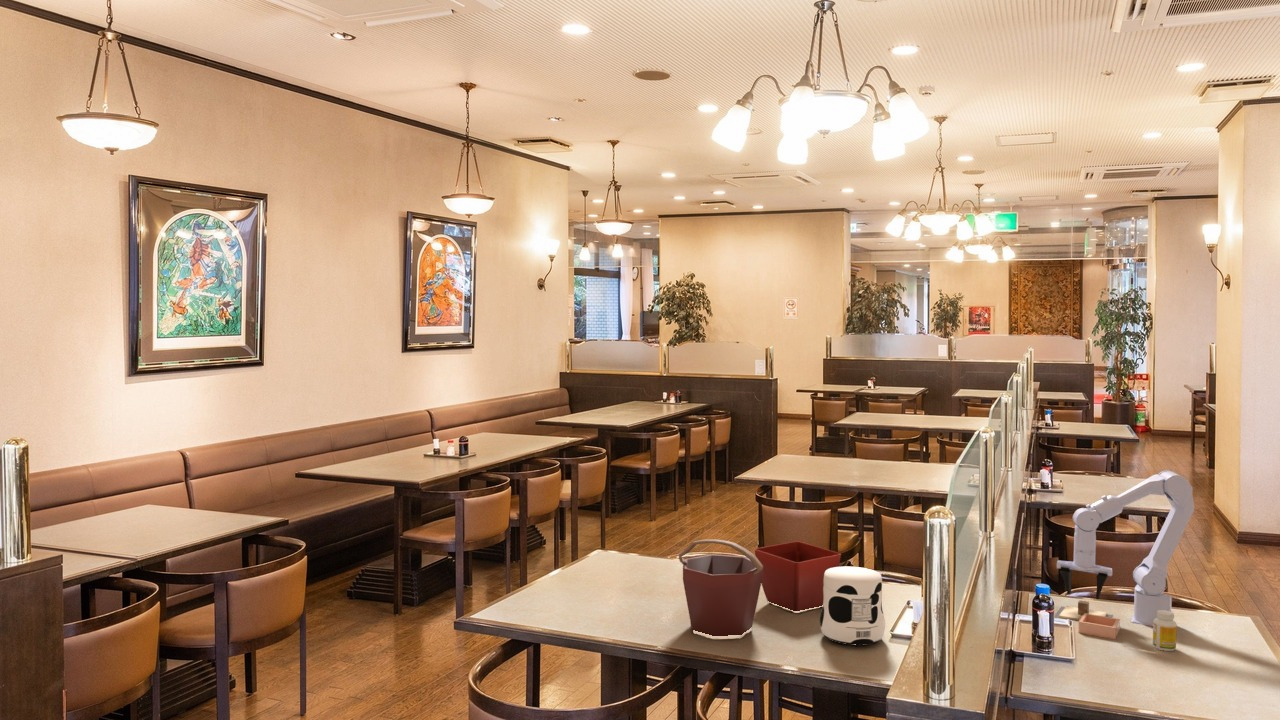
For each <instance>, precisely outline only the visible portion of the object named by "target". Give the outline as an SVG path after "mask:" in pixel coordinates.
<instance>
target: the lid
mask: <svg viewBox="0 0 1280 720" xmlns="http://www.w3.org/2000/svg"><path fill="white" fill-rule="evenodd" d="M1064 607H1065V608H1064V610H1063V611H1062V612H1061V614H1060V615H1059V617H1060V618H1059V619H1062V618H1066V619H1065V620H1067V619H1071V620H1070V621H1073V620H1077V621H1076V622H1079V621H1080V619H1081V618H1082V616H1083V615H1084V613H1087V614H1092V615H1098V616H1104V617H1106V616H1107V614H1108V612H1106V611H1100V610H1094V609H1090V601H1086V600H1079V601H1078V602H1077V606H1069V605H1066V606H1064Z"/></svg>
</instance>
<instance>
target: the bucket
mask: <svg viewBox="0 0 1280 720" xmlns="http://www.w3.org/2000/svg"><path fill="white" fill-rule="evenodd" d="M702 544H717V545H723V546H727V547H731V549H734V550H735V551H737V552H739V553H741V554H742V555H744V556H742V555H741V556H740V555H730V554H729V555H727V554H715V553H714V554H713V553H711V554H706V555H705V554H704V555H699V556H695V557H688V558H683V556H685V555H687V554H688V553H690V552H691V551H692V550H693V549H694V548H695V547H696V546H697V545H702ZM677 556H678V560H679V562H680V563H681V564H682V565H683V566H682V582H683V588H684V595H685V598H686V605H687V610H688V615H689V622H690V627H691V631H692V630H695V631H698V632H702V633H705V634H709V635H712V636H728V635H742V634H743V633H744V632H746V631H747V630H749V629H750V628H751V627H752V628H753V624H754V620H755V615H756V610H757V605H758V600H759V596H760V590H761V587H762V584H761V582H762V577H763V565H762V564H761V563H760V561H759V560H758V559H757V557H756V556H755V553H752V552H751V551H750V550H748V549H747V548H745V547H743V546H742V545H740V544H738V543H736V542H733V541H729V540H723V539H699V540H695V541H691V543H690V544H689V545H688V546H687V547H686V548H684V550H681V551H680V552H679V553H678V554H677Z"/></svg>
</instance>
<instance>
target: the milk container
mask: <svg viewBox="0 0 1280 720" xmlns="http://www.w3.org/2000/svg"><path fill="white" fill-rule="evenodd" d="M882 578H883V577H882V574H881V573H880V572H879V571H876V570H873V569H869V568H866V567H859V566H848V565H847V566H846V565H845V566H839V567H834V568H830V569H827V570H826V571H825V574H824V587H823V594H824V601H823V607H822V608H821V611H820V614H819V626H820V631H821V632H822V635H824V637H825V638H826V639H828V638H829V639H828V640H830V639H831V640H830V641H832V640H833V641H832V642H835V641H836V643H838V642H840V643H839V644H841V643H846V644H845V645H847V644H856V645H855V646H864V645H863V644H869V645H872V643H873V644H876V643H878V642H879V641H881V640H882V638H884V635H885V630H886V619H885V614H884V611H883V605H882V604H883V579H882ZM875 642H876V643H875Z"/></svg>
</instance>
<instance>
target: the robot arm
mask: <svg viewBox="0 0 1280 720" xmlns="http://www.w3.org/2000/svg"><path fill="white" fill-rule="evenodd" d="M1193 490H1194V488H1193V487H1192V485H1191V483H1190V481H1188V478H1186V477H1185V476H1182V475H1180V474H1178V473H1176V472H1175V471H1172V470H1168V469H1167V470H1162V471H1160V472H1159V473H1158V474H1152V475H1151V476H1149V477H1148V478H1147V479H1145V480H1143V481H1141V482H1140V483H1138V484H1136V485H1134V486H1132V487H1130V488H1129V489H1127V490H1125V491H1124V492H1122V493H1120V494H1118V495H1117V496H1115V495H1112V494H1110V495H1105V494H1104V495H1102V496H1100V499H1099V500H1097V501H1096V502H1093V503H1092V504H1090V503H1088V504H1085V507H1081V508H1078V509H1076V510H1075V511H1074V513H1073V515H1072V518H1071V519H1072V521H1073V523H1074V524H1075V525H1074V534H1073V540H1074V541H1073V561H1069V560H1068V561H1067V560H1060V559H1059V560H1057V561H1056V569H1060V570H1059V573H1060V575H1061V578H1062V579H1063V581H1064V585H1065V589H1066V594H1067V595H1071V594H1072V574H1073V573H1072V572H1073V571H1079V572H1085V573H1090V574H1097V575H1096V576H1095V577H1096V590H1095V591H1096V594H1095V599H1096V600H1100V598H1101V595H1102V593H1101V592H1102V589H1103V588H1104V585H1105V582H1106V580H1107V579H1108V577H1112V576H1113V568H1112V567H1109V566H1102V565H1098V564H1096V549H1097V535H1096V533H1097V532H1096V531H1097V528H1099V525H1100V524H1102V523H1103V522H1106V521H1107V520H1111V519H1112V518H1113V517H1116V516H1118V515H1119V514H1121V513H1122V512H1123V509H1124V508H1125V507H1126V506H1128V505H1130V504H1132V503H1135V502H1137V501H1138V500H1141V499H1144V498H1145V497H1147V496H1151V495H1157V496H1166V498H1167V500H1168V502H1169V504H1170V506H1171V508H1170V510H1169V513H1168V514H1167V516H1166V518H1165V521H1164V523H1163V524H1162V527H1161V528H1160V531H1159V533H1158V535H1157V537H1156V540H1155V542H1154V544H1153V546H1152V548H1151V550H1150V552H1149V554H1148V555H1147V556H1146V557H1145V558H1143V560H1142V562H1141V563H1140V564H1139V565H1137V566H1136V567H1135V568H1134V570H1133V572H1132V578H1133V580H1134V582H1135V583H1136V585H1135V586H1134V595H1133V596H1134V597H1133V598H1134V599H1133V600H1134V601H1133V605H1134V606H1133V616H1132V617H1131V620H1130V623H1133V624H1137V625H1138V624H1140V625H1145V626H1150V627H1153V621H1154V619H1156V618H1158V617H1157V616H1156V615H1157V611H1158V610H1165V611H1170V612H1172V604H1173V603H1172V602H1173V601H1172V600H1173V599H1172V595H1170V594H1168V593H1167V594H1166V593H1165V592H1164V591H1165V588H1166V585H1167V584H1166V579H1167V577H1168V573H1169V571H1168V570H1169V569H1168V566H1169V563H1170V561H1171V558H1172V557H1173V555H1174V553H1175V551H1176V548H1177V546H1178V544H1179V542H1180V540H1181V538H1182V536H1183V534H1184V532H1185V530H1186V528H1187V526H1188V524H1189V522H1190V520H1191V517H1192V516H1193V513H1194V511H1195V502H1194V495H1193Z"/></svg>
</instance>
